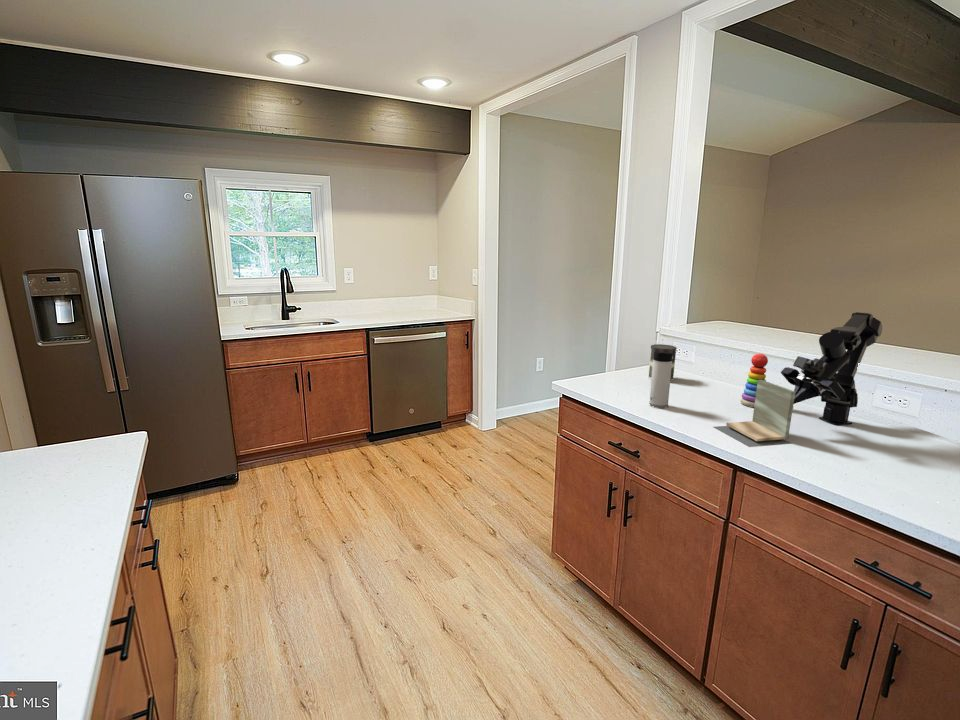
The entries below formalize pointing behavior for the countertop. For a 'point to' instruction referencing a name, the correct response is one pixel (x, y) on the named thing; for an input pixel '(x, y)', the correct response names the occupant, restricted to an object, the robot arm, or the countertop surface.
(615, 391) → the countertop surface
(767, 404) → the wooden bookend
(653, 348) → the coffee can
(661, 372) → the travel mug
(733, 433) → the mat
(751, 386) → the stacking toy
